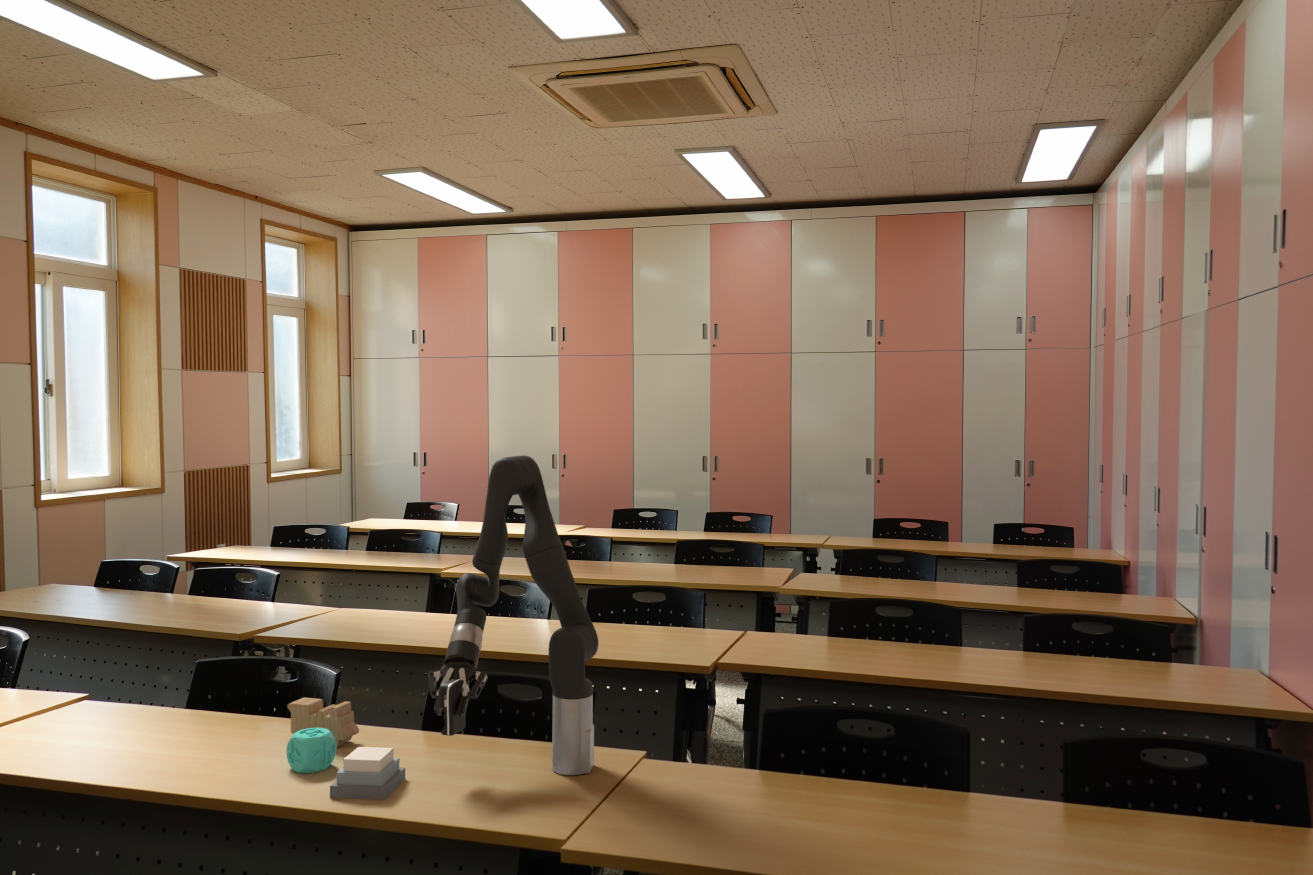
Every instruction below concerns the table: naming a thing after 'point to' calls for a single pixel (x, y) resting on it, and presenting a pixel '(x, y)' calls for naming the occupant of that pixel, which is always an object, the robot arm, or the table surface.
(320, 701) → the toy train
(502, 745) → the table surface
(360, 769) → the block tower
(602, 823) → the table surface
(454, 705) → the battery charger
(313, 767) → the decorative dice
